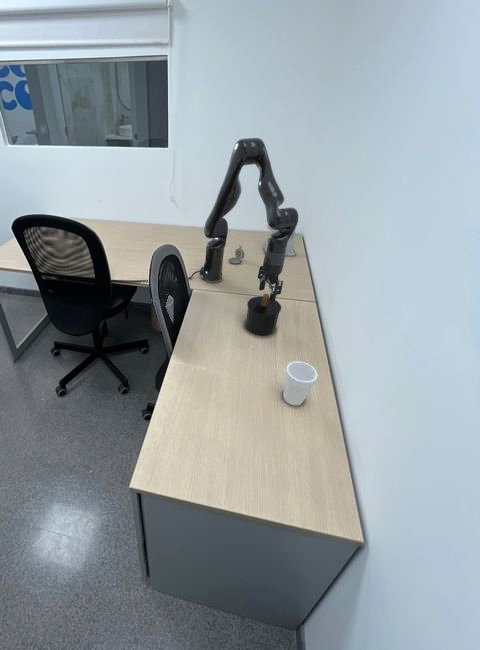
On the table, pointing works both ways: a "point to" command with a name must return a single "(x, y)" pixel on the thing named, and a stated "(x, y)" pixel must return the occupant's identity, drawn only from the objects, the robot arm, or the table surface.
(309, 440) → the table surface
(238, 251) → the pocket watch
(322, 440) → the table surface
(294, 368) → the foam cup
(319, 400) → the table surface
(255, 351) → the table surface
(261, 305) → the lid
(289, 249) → the phone holder
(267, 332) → the pot
